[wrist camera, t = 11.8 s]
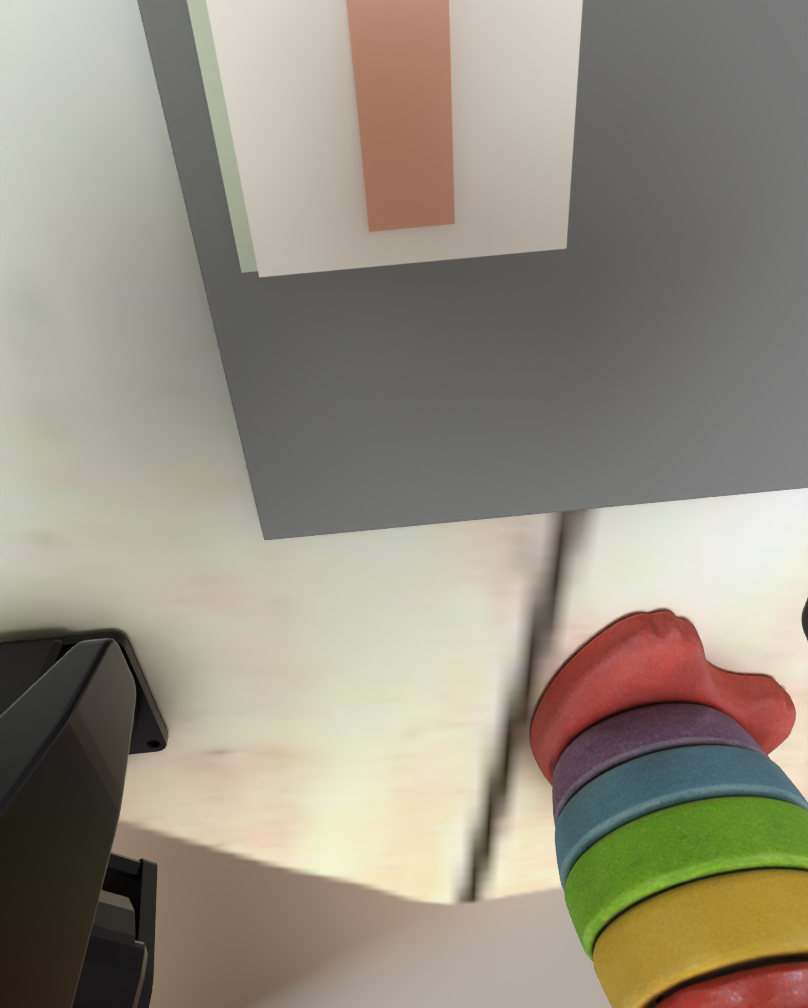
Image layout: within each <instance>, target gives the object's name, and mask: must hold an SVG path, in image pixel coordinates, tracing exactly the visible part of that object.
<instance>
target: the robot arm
mask: <svg viewBox="0 0 808 1008" xmlns="http://www.w3.org/2000/svg"><path fill="white" fill-rule="evenodd" d="M802 627H803V630H804V633H805V635H806V638H807V640H808V598H807V601H806V603H805V606H804V609H803V612H802ZM167 741H168V733H167V730H166V728H165V726H164V723H163V721H162V719H161V716H160V714H159V712H158V710H157V707H156V705H155V703H154V700H153V698H152V696H151V693H150V691H149V689H148V686H147V684H146V682H145V679H144V677H143V675H142V672H141V670H140V668H139V665H138V663H137V661H136V658H135V656H134V654H133V651H132V649H131V647H130V644H129V642H128V640H127V639H126V637H124V636H123V635H121V634H119V633H115V632H107V633H97V634H87V635H76V636H66V637H56V638H46V639H36V640H26V641H16V642H6V643H0V1008H149V1003H150V998H151V994H152V985H153V973H154V943H155V915H156V888H157V863H155V862H152V861H149V860H146V859H140V860H139V861H138V860H135V859H131V858H128V857H125V856H122V855H119V854H116V853H113V852H111V849H112V845H113V841H114V837H115V833H116V829H117V824H118V820H119V815H120V810H121V804H122V798H123V791H124V783H125V776H126V768H127V761H128V754H137V753H147V752H157V751H161V750H163V749H165V747H166V745H167Z"/></svg>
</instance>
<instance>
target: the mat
mask: <svg viewBox="0 0 808 1008" xmlns="http://www.w3.org/2000/svg"><path fill="white" fill-rule="evenodd" d="M138 5H139V9H140V13H141V18H142V22H143V26H144V30H145V35H146V39H147V43H148V47H149V52H150V56H151V60H152V64H153V69H154V73H155V77H156V81H157V86H158V90H159V94H160V98H161V103H162V107H163V111H164V115H165V120H166V124H167V128H168V132H169V137H170V141H171V145H172V149H173V154H174V158H175V162H176V166H177V171H178V175H179V179H180V184H181V188H182V192H183V196H184V201H185V205H186V209H187V213H188V218H189V222H190V226H191V230H192V235H193V239H194V243H195V247H196V252H197V256H198V260H199V264H200V269H201V273H202V277H203V281H204V286H205V290H206V294H207V298H208V303H209V307H210V311H211V315H212V320H213V324H214V328H215V332H216V337H217V341H218V345H219V349H220V354H221V358H222V362H223V367H224V371H225V375H226V379H227V384H228V388H229V392H230V396H231V401H232V405H233V409H234V413H235V418H236V422H237V426H238V430H239V435H240V439H241V443H242V447H243V452H244V456H245V460H246V464H247V469H248V473H249V477H250V481H251V486H252V490H253V494H254V498H255V503H256V507H257V511H258V515H259V520H260V524H261V528H262V533H263V537H264V540H272V539H282V538H293V537H303V536H313V535H324V534H334V533H344V532H355V531H365V530H375V529H386V528H396V527H406V526H417V525H427V524H437V523H448V522H458V521H468V520H479V519H489V518H499V517H510V516H520V515H531V514H541V513H551V512H562V511H572V510H582V509H593V508H603V507H613V506H624V505H634V504H644V503H655V502H665V501H675V500H686V499H696V498H706V497H717V496H727V495H738V494H748V493H758V492H769V491H779V490H789V489H800V488H808V0H583V5H582V20H581V35H580V50H579V65H578V80H577V96H576V111H575V126H574V141H573V156H572V171H571V187H570V202H569V217H568V232H567V247H566V249H557V250H546V251H535V252H525V253H514V254H503V255H493V256H482V257H471V258H461V259H450V260H439V261H429V262H418V263H407V264H397V265H386V266H375V267H365V268H354V269H343V270H333V271H322V272H311V273H301V274H290V275H279V276H269V277H259V274H258V269H257V263H256V258H255V253H254V248H253V243H252V237H251V232H250V227H249V222H248V217H247V211H246V206H245V201H244V196H243V191H242V186H241V180H240V175H239V170H238V165H237V160H236V154H235V149H234V144H233V139H232V134H231V128H230V123H229V118H228V113H227V108H226V102H225V97H224V92H223V87H222V82H221V76H220V71H219V66H218V61H217V56H216V51H215V45H214V40H213V35H212V30H211V25H210V19H209V14H208V9H207V4H206V0H138Z"/></svg>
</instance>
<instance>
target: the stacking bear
mask: <svg viewBox="0 0 808 1008" xmlns="http://www.w3.org/2000/svg"><path fill="white" fill-rule="evenodd" d="M795 719H796V711H795V707H794V704H793V702H792V700H791V697H790V695H789V694H788V693H787V692H786V691H785V690H783V689H782V688H780V685H779V684H778V683H777V682H776V681H775V680H773V679H770V678H767V677H763V676H747V675H736V674H730V673H727V672H723V671H721V670H719V669H717V668H715V667H714V666H712V665H711V664H710V663H708V662H707V661H706V659H705V654H704V649H703V645H702V642H701V640H700V637H699V635H698V633H697V631H696V629H695V627H694V625H693V624H691V623H690V622H688V621H685V620H682V619H679V618H677V617H676V616H675V615H674V613H672V612H669V611H666V612H657V613H650V614H638V615H634V616H631V617H628V618H626V619H624V620H621V621H619V622H617V623H616V624H614V625H613V626H611V627H610V628H608V629H607V630H606V631H604V632H603V633H601V634H600V635H599V636H597V637H596V638H595V639H594V640H592V641H591V642H590V643H589V644H588V645H586V646H585V647H584V648H583V649H582V650H581V651H580V652H579V653H578V654H577V655H576V656H575V657H574V658H573V659H572V660H571V661H569V663H568V664H567V665H566V666H565V667H564V668H563V669H562V670H561V671H560V673H559V674H558V675H557V676H556V678H555V679H554V681H553V682H552V683H551V685H550V686H549V688H548V689H547V691H546V693H545V695H544V696H543V698H542V700H541V702H540V704H539V706H538V709H537V711H536V714H535V716H534V719H533V723H532V728H531V733H530V743H531V749H532V752H533V755H534V758H535V760H536V762H537V764H538V766H539V768H540V769H541V771H542V773H543V775H544V776H545V777H546V779H547V780H548V781H549V782H550V784H551V785H552V786H553V789H552V793H553V815H554V823H555V846H556V855H557V863H558V869H559V875H560V881H561V885H562V887H563V889H564V892H565V901H566V905H567V908H568V910H569V913H570V916H571V919H572V921H573V924H574V927H575V929H576V932H577V934H578V936H579V939H580V941H581V943H582V946H583V948H584V950H585V952H586V953H587V955H588V957H589V958H590V959H591V960H592V961H593V963H594V969H595V971H596V974H597V977H598V979H599V981H600V983H601V985H602V988H603V990H604V992H605V994H606V996H607V998H608V1000H609V1002H610V1004H611V1006H612V1008H808V802H807V801H806V800H805V798H804V797H803V796H802V794H801V793H800V792H799V790H798V789H797V788H796V786H795V785H794V784H793V783H792V781H791V780H790V779H789V778H788V777H787V775H786V774H785V773H784V772H783V771H782V769H781V768H780V767H779V766H778V765H777V764H776V763H774V762H773V761H772V760H770V758H769V757H768V754H769V753H771V752H772V751H773V750H774V749H776V748H777V747H778V746H779V745H780V744H781V743H782V742H783V741H784V740H785V739H787V738H788V736H789V735H790V733H791V730H792V728H793V725H794V722H795Z"/></svg>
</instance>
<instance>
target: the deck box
mask: <svg viewBox="0 0 808 1008" xmlns="http://www.w3.org/2000/svg"><path fill="white" fill-rule="evenodd" d="M206 4H207V9H208V14H209V19H210V25H211V30H212V35H213V40H214V45H215V51H216V56H217V61H218V66H219V71H220V76H221V82H222V87H223V92H224V97H225V102H226V108H227V113H228V118H229V123H230V128H231V134H232V139H233V144H234V149H235V154H236V160H237V165H238V170H239V175H240V180H241V186H242V191H243V196H244V201H245V206H246V211H247V217H248V222H249V227H250V232H251V237H252V243H253V248H254V253H255V258H256V263H257V269H258V274H259V277H269V276H279V275H290V274H301V273H311V272H322V271H333V270H343V269H354V268H365V267H375V266H386V265H397V264H407V263H418V262H429V261H439V260H450V259H461V258H471V257H482V256H493V255H503V254H514V253H525V252H535V251H546V250H557V249H566V247H567V232H568V217H569V202H570V187H571V171H572V156H573V141H574V126H575V111H576V96H577V80H578V65H579V50H580V35H581V20H582V5H583V0H206Z"/></svg>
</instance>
